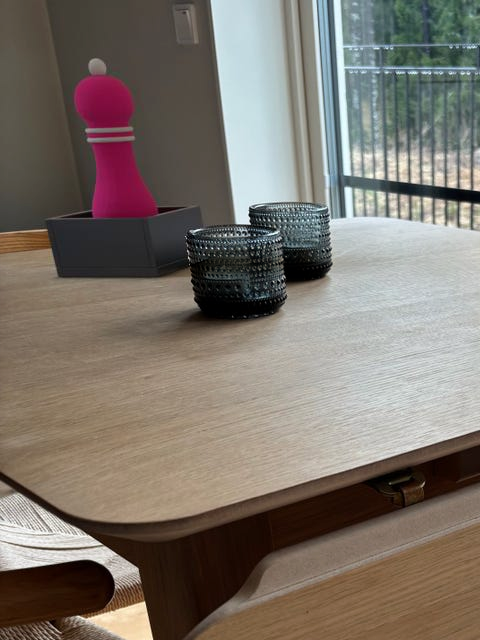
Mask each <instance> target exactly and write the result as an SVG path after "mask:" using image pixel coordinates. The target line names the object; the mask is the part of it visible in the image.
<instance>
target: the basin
mask: <svg viewBox="0 0 480 640" xmlns="http://www.w3.org/2000/svg"><path fill="white" fill-rule="evenodd" d="M156 206H157V205H156ZM157 209H158V213H159V214H157V215H153V216H149V217H135V218H93V214H92V209H89V210H83V211H79V212H74V213H69V214H64V215H63V214H62V215H59V216H54V217H50V218H45V219H44V222H45V227H46V231H47V235H48V239H49V243H50V244H49V245H50V248H51V253H52V257H53V261H54V266H55V269H56V275H57V277H58V278H160V277H162V276H165V275H169V274H171V273H174V272H176V271H179V270H182V269H186V268H189V267H190V266H189V259H188V252H187V244H186V237H185V236H186V233H187V232H188V231H190V230H196V229H200V228H204V223H203V216H202V211H201V210H202V209H201V205H158V206H157Z"/></svg>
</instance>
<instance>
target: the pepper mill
mask: <svg viewBox="0 0 480 640" xmlns="http://www.w3.org/2000/svg"><path fill="white" fill-rule="evenodd" d="M88 71H89V73H90V74H91V76H88V77H85V78H84V79H82V80H81V81H80V82H78V84H77V86H76V87H75V90H74V97H73V99H74V106H75V110H76V112H77V114H78V116H79V117H80V118H81V119H82V120H83V121H84V122H85V123H86V125H87V128H85V133H87V135H86V136H87V139H86V141H87V142H88V143H90V144H91V146H92V149H93V154H94V159H95V166H96V178H95V179H96V181H95V187H94V192H93V198H92V207H91V208H92V209H91V210H92V214H93V218H135V217H149V216H153V215H157V214H159V213H158V209H157V204H156V202H155V199H154V196H153V195H152V194H151V192H150V190H149V188H148V187H147V185H146V184H145V181H144V180H143V178H142V176H141V173H140V171H139V169H138V166H137V162H136V159H135V155H134V147H133V141H135V140H136V137H135V136H134V127H133V126H130V121H131V119H132V116H133V114H134V112H135V105H134V100H133V96H132V94H131V92H130V90H129V88H128V87H127V86H126V85H125V83H123V82H122V81H121V80H119V79H118V78H116V77H114V76H109V75H106V73H107V66H106V64H105V62H104V61H103V60H101V59H100V58H92V59H90V61H89V62H88Z"/></svg>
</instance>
